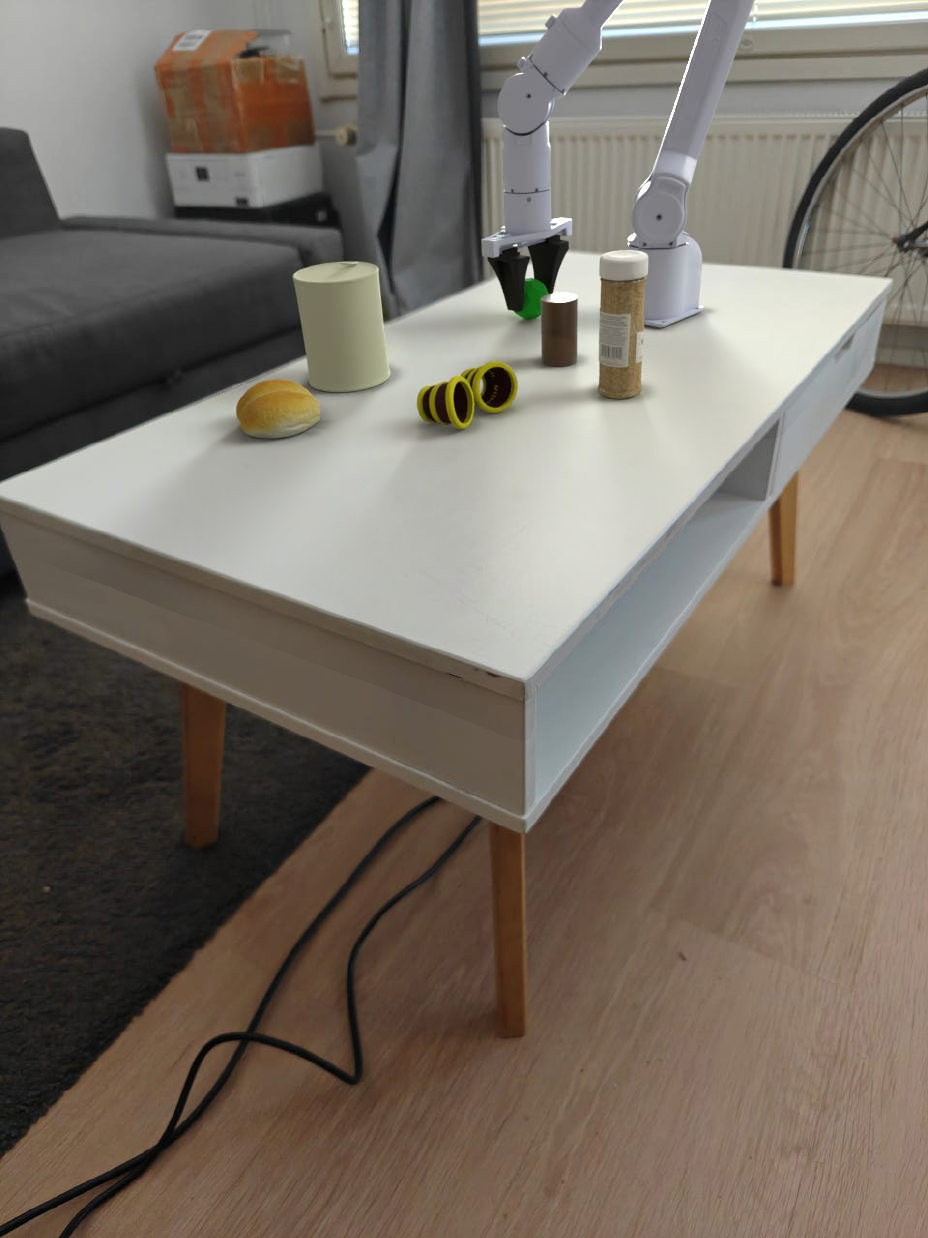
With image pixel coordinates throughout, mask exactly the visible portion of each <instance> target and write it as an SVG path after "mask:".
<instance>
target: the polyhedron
mask: <svg viewBox="0 0 928 1238" xmlns="http://www.w3.org/2000/svg"><path fill="white" fill-rule="evenodd" d="M547 294H549V293H548V291H547V289H546V286H545V285H544V284H543V283H541V282H540V281H538V280H536V279H534V277H528V278H527V277H526V278H525V283H524V305H523V310H522V311H520V312H516V311H513V312H514V313H515V314H516V315H517V316H519V317H520V318H523V320H528V321H530V320H536V319H538V318H539V317H541V297H542V296H544V295H547Z"/></svg>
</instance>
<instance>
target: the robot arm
mask: <svg viewBox="0 0 928 1238" xmlns="http://www.w3.org/2000/svg"><path fill="white" fill-rule="evenodd" d="M755 1H756V0H708V3H707V6H706V9H705V12H704V15H703V18H702V21H701V25H700V27H699V30H698V33H697V36H696V39H695V42H694V46H693V49H692V51H691V53H690V57H689V60H688V64H687V66H686V69H685V72H684V75H683V79H682V81H681V85H680V87H679V91H678V94H677V95H676V96H677V97H676V100H675V102H674V106H673V109H672V112H671V115H670V118H669V121H668V124H667V127H666V130H665V133H664V135H663V139H662V142H661V145H660V148H659V150H658V153H657V156H656V159H655V161H654V163H653V168H652V170H651V172H650V175H649V176H648V178H647V179H646V180H645V181H644V182H643V183H642V184H641V185H640V186H639V188H638V190H637V192H636V193H635V196H634V201H633V207H632V211H631V216H630V217H631V219H630V220H631V221H630V222H631V227H632V229H633V232H634V233H633V234H631V235H629V236H628V238H627V250H634V251H641V252H644V253H646V254H647V255H648V274H647V275H646V281H645V296H644V326H645V325H646V326H648V327H649V326H650V327H656V328H665V327H668V326H669V325H672V324H674V323H676V322H680V321H682V320H684V319H686V318H689V317H692V316H693V315H696V314H698V313H700V312H703V311H705V306H704V305H700V294H701V282H702V269H703V253H702V250H701V248H700V245H699V244H698V242H697V241H696V240H695V239H694V238H692V237H691V236H689V233H688V232H686V230H684V229H685V227H686V224H687V220H688V206H687V202H688V201H687V199H688V194H689V191H690V188H691V185H692V182H693V179H694V175H695V171H696V168H697V164H698V161H699V158H700V156H701V152H702V150H703V147H704V143H705V141H706V138H707V135H708V133H709V130H710V127H711V124H712V121H713V119H714V116H715V113H716V110H717V107H718V105H719V101H720V99H721V96H722V93H723V91H724V88H725V85H726V82H727V79H728V76H729V73H730V71H731V68H732V66H733V62H734V59H735V57H736V54H737V51H738V48H739V45H740V43H741V40H742V37H743V35H744V32H745V28H746V26H747V24H748V20H749V18H750V15H751V12H752V9H753V7H754V3H755ZM624 2H625V0H584V1H583V4H582V5H580V6H577V7H566V8H563V9H562V10H561V11H560V13H559V14H558V16H556V15H555V14H551V15H550V17H548V19H547V20H546V22H545V23H544V27H545V28H546V29H547V30H546V31H545V33H544V34H543V35H542V37H541V38H540V40H539V41H538V42H537V43H536V45H535V46H534V48H533V49H531V51H530V53H529V54H528V56H527V57H526V58H525V57H524V56H522V57H520V59H519V61H517V63H516V67H517V68H518V69H519V70H520V72H521V73H515V74H513V75H511V76H509V77H508V78H507V79H506V80H504V83H503V86H502V88H501V89H500V92H499V94H498V97H497V114H498V118H499V120H500V121H501V123H502V124H503V126H502V135H501V137H502V138H501V139H502V144H503V145H502V150H501V156H502V157H501V159H502V182H503V185H502V186H503V187H502V188H503V210H504V225H503V226H501V227H500V231H498V232H496V233H494V234H492V235H490V236H488V237H484V238H482V239H481V256H482V257H486V259H487V262H488V263H489V265H490V266H491V268H492V270H493V272H494V273H495V276H496V277H497V280H498V282H499V285H500V287H501V291H502V295H503V297H504V301H505V305H506V308H507V310H508V311H512V312H514V311H516V312H520V311H522V310H523V305H524V283H525V279H526V276H527V271H528V267H529V263H530V260H531V265H532V271H533V279H536V280H538V281H540V282H541V283H543V284H544V285H545V286H546V289H547V291H548V293H549V294H552V293H554V290H555V287H556V281H557V277H558V274H559V271H560V268H561V265H562V263H563V262H564V261H563V260H564V259H565V257H566V255H567V253H568V251H569V249H570V241H569V240H566V239H561V237H570V236H573V218H567V217H558V218H553V219H552V152H551V151H552V150H551V149H552V148H551V144H550V122H549V121H548V120H549V118H550V117H551V115H552V113H553V110H554V105H555V100H556V99H563V98H564V96H566V94H567V93H568V91H569V90H570V89H571V88H572V87H573V85H574V84H575V83H576V82H577V81H578V79H579V78H580V76H581V75H582V74H583V73H584V71H585V70H586V69H587V68H588V66H590V64H591V63H592V62H593V61H594V59H595V57H597V55H598V54H599V53H600V51H601V50H602V29H603V27H604V26H605V25H606V24H607V23H608V21H609V20H610V19H611V18H612V16H613V15H614V14H615V12H617V10H618V9H619V8H620V6H621V5H622V4H623V3H624ZM523 248H527V250H528V253H529V255H525V254H521V251H518V250H520V249H523Z"/></svg>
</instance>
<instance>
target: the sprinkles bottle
mask: <svg viewBox="0 0 928 1238" xmlns="http://www.w3.org/2000/svg"><path fill="white" fill-rule="evenodd" d="M598 265H599V267H598V268H599V269H598V273H599V274H598V275H599V277H600V279H599V280H600V301H599V302H600V304H599V306H600V307H599V319H598V321H599V322H598V323H599V324H598V325H599V326H598V328H599V329H598V362H599V366H598V367H599V369H598V373H599V374H598V385H597V392H598V393H599V394H600V395H601V396H603V397H606V398H609V399H622V400H623V399H628V398H633V397H635V396H638V395H640V393H641V392H642V390H643V385H642V373H643V372H642V369H643V368H642V365H643V359H644V335H645V334H644V333H645V325H644V296H645V281H646V275H647V274H648V255H647V254H646V253H644V252H641V251H634V250H628V249H624V250H622V249H620V250H614V251H613V250H612V251H609V252H605V253H603V254H602V255H601V256H600V257H599V264H598Z"/></svg>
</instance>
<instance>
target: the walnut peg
mask: <svg viewBox="0 0 928 1238" xmlns="http://www.w3.org/2000/svg"><path fill="white" fill-rule="evenodd" d="M578 302H579V297H578V295H577V294H575V293H572V292H571V293H570V292H553V293H552V294H547V295H544V296H542V297H541V315H540V335H541V337H540V340H541V341H540V342H541V344H540V345H541V363H542V364H543V365H544V366H548V367H554V368H561V367H569V366H572V365H575V364H576V363H577V362H578V320H579V319H578V318H579V317H578V314H579V313H578V311H579V307H578V306H579V305H578V304H579V303H578Z"/></svg>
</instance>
